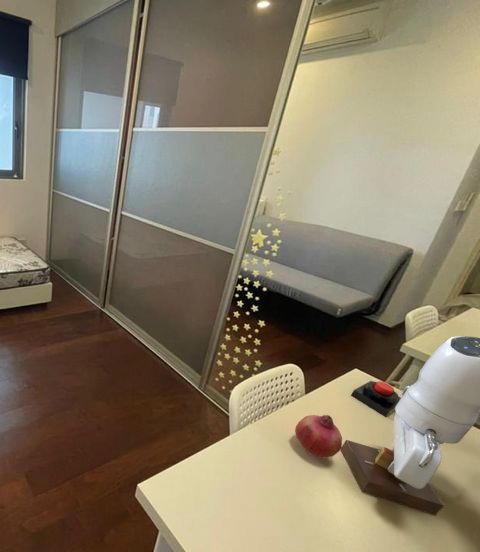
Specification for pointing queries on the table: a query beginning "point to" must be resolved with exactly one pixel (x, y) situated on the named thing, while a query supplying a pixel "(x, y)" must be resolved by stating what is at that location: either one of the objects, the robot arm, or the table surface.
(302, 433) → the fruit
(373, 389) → the bell block
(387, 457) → the block
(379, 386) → the bell button
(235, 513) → the table surface
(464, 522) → the table surface
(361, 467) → the plate
